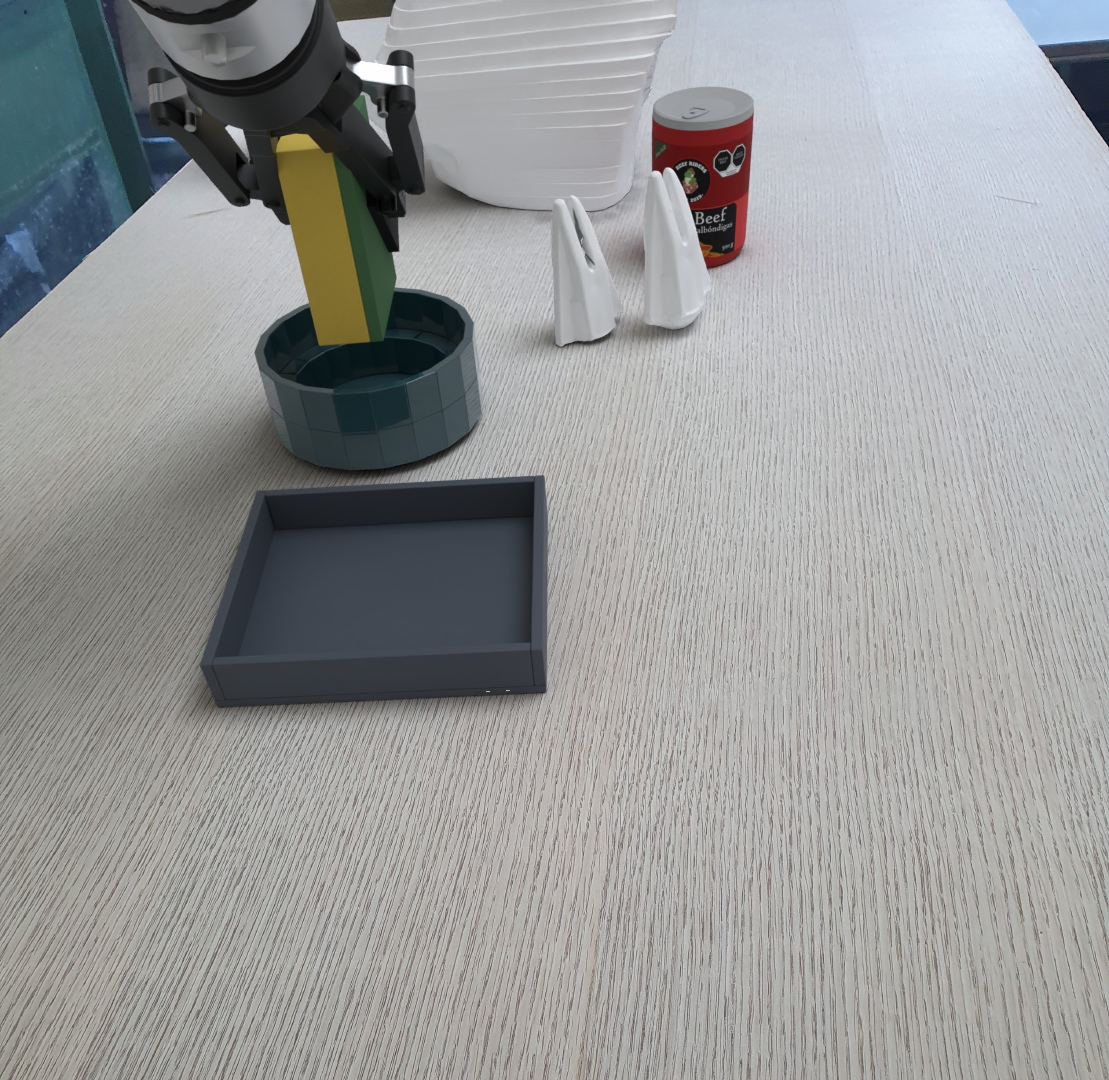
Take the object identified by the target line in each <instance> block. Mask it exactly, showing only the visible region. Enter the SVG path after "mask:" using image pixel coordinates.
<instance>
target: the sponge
mask: <svg viewBox="0 0 1109 1080" xmlns="http://www.w3.org/2000/svg"><path fill="white" fill-rule="evenodd" d="M353 104H354V105H355V106H356V108H357V109H358V110H359V111H360V113H361V114H362V115H363V116H364V118H365V119H366V120H367V121H368V123H369V124H370V125H371V123H370V119H369V117H368V112H367V106H366V100H365V96H364V95H360V96H359V97H358V98H357V100H356V101H355V102H354V103H353ZM276 154H277V164H278V174H279V179H280V183H281V188H282V192H283V196H284V200H285V204H286V209H287V213H288V217H289V221H290V225H289V226H290V229H291V233H292V237H293V242H294V247H295V250H296V253H297V254H296V255H297V259H298V262H299V267H300V272H301V275H302V280H303V282H304V289H305V292H306V296H307V301H308V303H309V305H310V309H311V314H312V318H313V322H314V326H315V330H316V335H317V339H318V343H319V345H320V346H323V345H337V344H351V343H364V342H370V341H371V342H380V341H383V340H384V336H385V331H386V326H387V321H388V317H389V312H390V307H391V303H392V298H393V293H394V289H395V287H396V284H397V279H398V278H397V273H396V272H397V271H396V265H395V261H394V253H393V252H388V250H387V248H386V246H385V244H384V242H383V239H382V237H381V235H380V233H379V231H378V229H377V227H376V225H375V223H374V221H373V218H372V216H371V214H370V212H369V210H368V208H367V198H366V188H365V187H364V185H363V184H362V183H361V182H360V181H359V180H358V179H357V178H356V177H355V176H354V175H353V174H352V172H351V170H349V169H348V168H347V167H346V166H345V165H344V164H343V163H342V162H341V160H340V159H339V158H338V157H337V156H336V155H335V154H334V153H333V152H331V153H325V152H324V151H323V150H322V149H321V148H320V147H319V146H318V145H317V144H316V143H315V142H314V141H313V140H312V139H311V137H310V136H309V135H307V134H291V135H286V136H282V137H281V138H280V140H279V142H278V144H277V150H276Z"/></svg>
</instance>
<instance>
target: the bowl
mask: <svg viewBox="0 0 1109 1080" xmlns="http://www.w3.org/2000/svg"><path fill="white" fill-rule="evenodd" d="M475 327H476V326H475V322H474V320H473V318H472V317H471V315H470V313H469V312H468V311H467V308H466V307H464V306H463V305H461V304H460V303H458V302H457V301H455V300H454V299H451V298H450V297H449V296H445V295H442V294H440V293H439V294H438V293H435V292H432V291H429V290H424V289H418V288H409V287H408V288H407V287H398V286H397V287H396V286H395V289H394V293H393V298H392V303H391V307H390V312H389V317H388V321H387V326H386V331H385V336H384V340H383V341H380V342H371V341H370V342H364V343H351V344H337V345H323V346H320V345H319V343H318V339H317V335H316V330H315V326H314V322H313V318H312V314H311V309H310V305H309V302H308V303H305V304H302V305H300V306H298V307H296V308H294V309H293V310H290V311H289V312H287V313H286V314H284V315H281V316H280V317H279V318H277V319H276V320H274V322H273V323H271V324H270V326H269V327H268V328H267V329H265V330H264V332H263V333H261V334H260V336H259V339H258V341H257V344H256V346H255V349H254V357H255V360H256V363H257V364H256V365H257V368H258V371H259V375H260V378H261V382H262V386H263V389H264V393H265V396H266V399H267V403H268V407H269V410H270V415H271V417H272V420H273V424H274V427H275V431H276V435H277V439H278V441H279V444H281V445H282V446H283V447H284V448H286V450H288V451H289V452H290V453H291V454H292V455H293V456H294V457H296V458H297V459H300V460H303V461H305V462H308V463H310V464H313V465H316V466H318V467H322V468H323V467H324V468H330V469H338V470H344V471H364V470H379V469H380V470H382V469H388V468H393V467H396V466H401V465H405V464H410V463H414V462H418V461H421V460H423V459H425V458H427V457H430V456H432V455H434V454H437V453H439V452H441V451H444V450H446V449H448V448H450V447H451V446H452V445H453V444H456V442H457V441H458V442H459V440H460V439H462V438H463V437H464V436H466V435H467V434H468V433H469V432H471V430H472V429H473V428H474V426H475V425H476V423H477V422H478V421H479V419H480V417H481V416H482V413H483V404H484V403H483V400H484V393H483V386H482V385H483V384H482V377H481V369H480V361H479V353H478V352H479V351H478V345H477V344H478V343H477V335H476V328H475Z"/></svg>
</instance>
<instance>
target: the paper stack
mask: <svg viewBox="0 0 1109 1080" xmlns="http://www.w3.org/2000/svg"><path fill="white" fill-rule="evenodd" d="M677 13H678V0H395V2H394V3H393V6H392V10H391V14H390V19H389V20H388V22H387V27H386V31H385V35H384V36H385V37H384V39H383V40H382V44H381V46H380V48H379V50H378V53H377V54H376V57H375V58H374V59H373V60H372V63H383V64H385V65H386V63H387V60H388V57H389V55H390V53H391V52H393V51H395V50H406V51H409V52H410V53H412V55H413V56H414V75H415V99H416V110H415V115H416V119H417V123H418V127H419V131H420V135H421V139H422V143H423V151H424V153H425V154H424V155H425V156H426V157H427V158H428V159H429V163H430V166H431V169H432V172H433V174H434V175H435V178H436V179H437V180H439V181H440V182H442V183H443V184H446V185H447V186H449V187H451V188H453V189H455V190H456V191H459V192H461V193H463V194H464V195H465V196H467V197H469V198H471V199H474V200H477V201H480V202H482V203H484V204H488V205H491V206H496V207H499V208H500V207H501V208H509V209H519V210H530V211H531V210H533V211H534V210H535V211H553V204H554V202H555V201H556V200H557V199H562V200H564V202H565V204H566V206H567V208H568V199H569V197H570V196H571V195H573V196H575V197H577V198H578V199H579V201H580V202H581V204H582V206H583V208H584V209H585V211H586V212H596V211H603V210H606V209H608V208H610V207H613V206H615V205H616V204H618V203H619V202H621V200H622V199H624V198H625V196H626V195H628V194H629V192H630V191H631V188H632V186H633V182H634V176H635V175H634V174H635V164H636V163H635V162H636V145H637V136H638V132H639V131H638V130H639V124H640V121H641V117H642V113H643V109H644V106H645V103H646V102H647V100H648V99H649V97H650V95H651V94H652V93H651V91H652V89H653V88H652V84H653V81H654V74H655V71H656V65H657V61H658V56H659V53H660V51H661V48H662V46H663V44H664V41H666V40H667V39H669V38H670V37H672V35H674V33H673V31H674V30H675V28H676V24H677V17H678V16H677V15H675V14H677ZM360 95H364V96H365V100H366V106H367V112H368V117H369V121H371V122H372V123H373V125H375V126H376V127H378V128H379V129H380V130H382V131H383V132H384V133H386V134H387V132H386V126H385V118H381V117H379V116H378V114H377V105H374V104H373V103H372V102H371V98H370V96H369V95H368V94H367V93H364V92H361V94H360Z"/></svg>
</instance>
